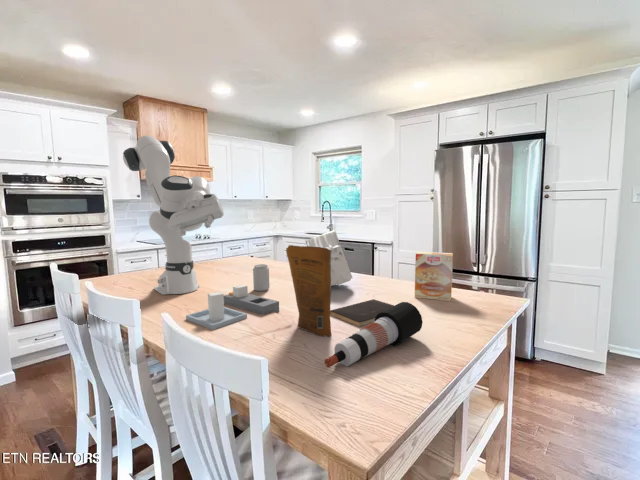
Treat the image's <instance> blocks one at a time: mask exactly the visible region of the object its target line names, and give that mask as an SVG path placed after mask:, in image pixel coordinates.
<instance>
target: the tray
mask: <svg viewBox="0 0 640 480" xmlns="http://www.w3.org/2000/svg"><path fill="white" fill-rule="evenodd" d="M224 317H225V319H221V320H216V321H211V320H210V319H209V309H208V308H207V309H203V310H200V311H196V312H193V313H189V314H186V315H185V320H187V321H188V322H191V323H194V324H197V325H200V326H202V327H204V328H207V329H210V330H214V331H215V330H216V329H217V330H218V329H219V328H222V327H225V326H228V325H231V324H233V323H234V324H235V323H237V322H240V321H243V320H246V319H248V314H247V313H245V312H242V311H239V310H235V309H232V308H229V307H226V306H224Z"/></svg>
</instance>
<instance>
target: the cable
mask: <svg viewBox="0 0 640 480" xmlns="http://www.w3.org/2000/svg"><path fill="white" fill-rule="evenodd" d="M422 327H423V316H422V314H421V312H420V311H419V309H418V308H417V306H415V305H414V304H412V303H410V302H409V301H408V302H407V301H401V302H398V303H397V304H395V305H394V306H393V307H391V308H389V309H387V310H385V311H383V312H381V313H379V314H378V315H377V316H376V318H375V322H371V323H369V324H367V325H366V326H363V327H362V328H360V329H359V331H357V332H355V333H352V335H350V336H348V337H347V338H345V339H343V340H342V341H340V342H338V343H336V344H335V345H334V353H333V354H332V355H331V356H329V357H328V358H325V359H324V365H325V366H326V368H331V367H333V366H335V365H336V364H341V365H343V366H345V367H349V366H351V365H353V364H354V363H356V362H358V361H360V360H362V359H364V358H366V357H367V356H369V355H371V354H374V353H376V352H379V350H380V349H381V350H382V348H385V347H386V346H387V345H390V346H391V347H396V346H398V345H400V344H401V343H403V342H405V341H406V340H407V339H409V338H411V337H412V336H414V335H415V334H417V333H419V332H420V331H421V329H422Z"/></svg>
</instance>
